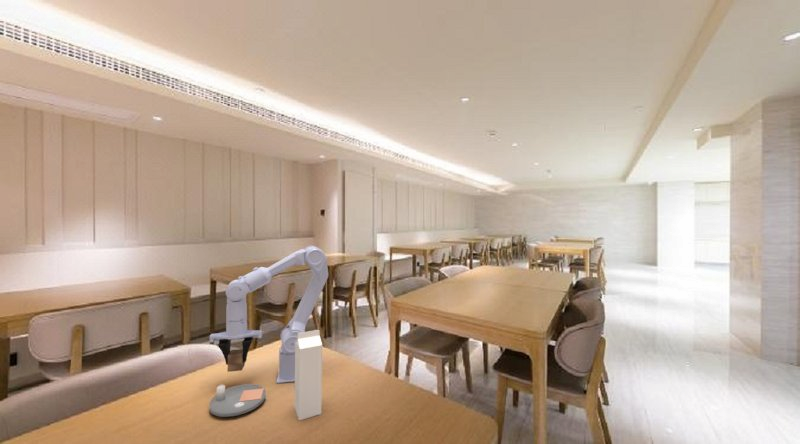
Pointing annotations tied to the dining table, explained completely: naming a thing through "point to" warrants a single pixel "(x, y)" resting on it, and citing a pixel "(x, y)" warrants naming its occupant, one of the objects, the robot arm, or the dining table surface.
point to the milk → (308, 374)
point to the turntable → (236, 399)
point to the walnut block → (235, 360)
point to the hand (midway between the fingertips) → (236, 362)
